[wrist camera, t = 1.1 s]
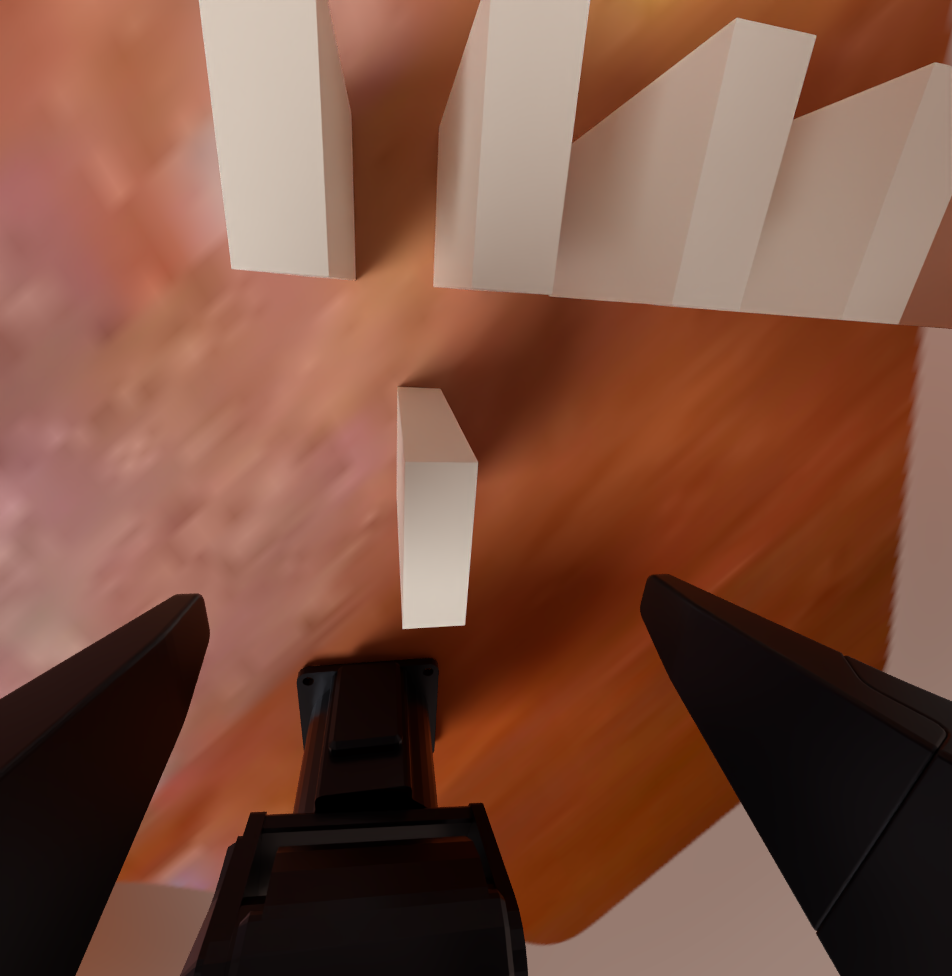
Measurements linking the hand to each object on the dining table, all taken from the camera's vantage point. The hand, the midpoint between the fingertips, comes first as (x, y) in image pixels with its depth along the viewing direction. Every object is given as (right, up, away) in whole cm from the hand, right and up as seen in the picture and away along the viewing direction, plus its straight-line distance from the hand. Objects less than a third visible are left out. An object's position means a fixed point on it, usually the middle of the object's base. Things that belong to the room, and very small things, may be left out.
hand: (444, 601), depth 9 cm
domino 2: (-2, +4, +9) cm, 10 cm away
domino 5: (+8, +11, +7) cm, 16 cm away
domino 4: (+4, +11, +7) cm, 14 cm away
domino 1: (-4, +11, +5) cm, 13 cm away
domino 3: (0, +11, +6) cm, 13 cm away
